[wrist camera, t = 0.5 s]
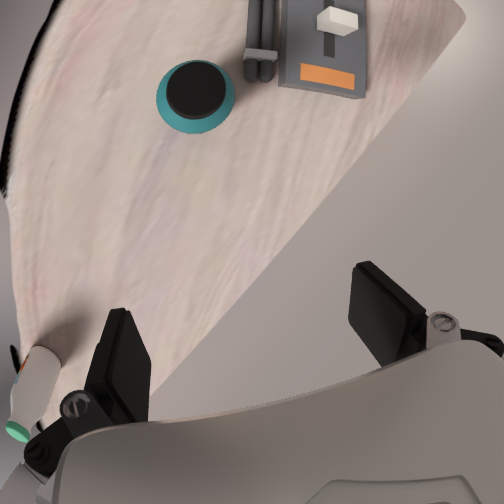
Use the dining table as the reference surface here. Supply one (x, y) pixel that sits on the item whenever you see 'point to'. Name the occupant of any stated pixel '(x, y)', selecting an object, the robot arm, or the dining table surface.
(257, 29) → the dressed cords
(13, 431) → the milk bottle
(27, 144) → the dining table surface
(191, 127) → the beverage bottle
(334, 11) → the block
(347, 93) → the panel
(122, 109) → the dining table surface
